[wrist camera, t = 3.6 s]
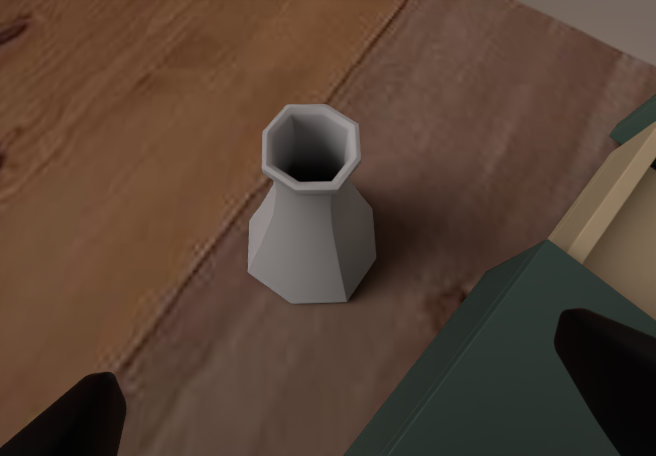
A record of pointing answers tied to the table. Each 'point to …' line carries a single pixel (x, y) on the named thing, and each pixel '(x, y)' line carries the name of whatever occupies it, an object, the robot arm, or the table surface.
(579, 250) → the drawer
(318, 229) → the flask
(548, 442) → the cabinet
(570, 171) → the table surface
